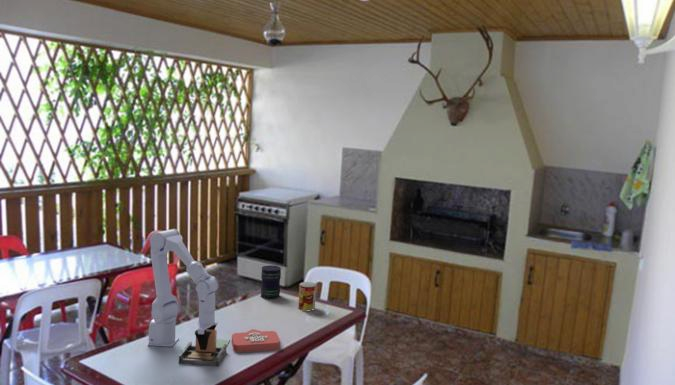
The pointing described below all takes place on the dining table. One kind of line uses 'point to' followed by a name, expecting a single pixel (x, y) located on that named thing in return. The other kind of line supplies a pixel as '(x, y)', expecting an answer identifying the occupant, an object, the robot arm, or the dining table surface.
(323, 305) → the dining table surface
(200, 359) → the block
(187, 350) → the rack
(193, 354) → the offcut short
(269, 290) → the storage jar
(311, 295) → the canned food
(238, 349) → the red flat case
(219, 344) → the mat
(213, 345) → the tall orange plank
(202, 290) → the robot arm
